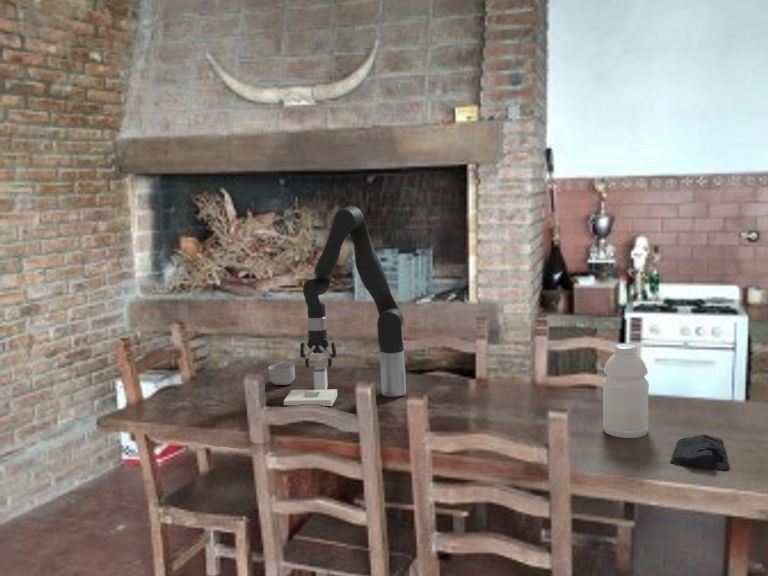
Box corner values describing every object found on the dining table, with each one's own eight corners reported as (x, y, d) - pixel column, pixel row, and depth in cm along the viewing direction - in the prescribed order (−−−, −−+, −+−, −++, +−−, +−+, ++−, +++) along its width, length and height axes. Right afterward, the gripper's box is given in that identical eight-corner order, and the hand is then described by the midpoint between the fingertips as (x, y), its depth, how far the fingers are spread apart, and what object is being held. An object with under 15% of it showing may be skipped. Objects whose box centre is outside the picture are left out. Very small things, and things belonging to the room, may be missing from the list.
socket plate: (337, 395, 293) (337, 389, 293) (331, 406, 280) (331, 400, 279) (292, 396, 295) (291, 389, 295) (284, 407, 281) (283, 400, 281)
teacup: (293, 387, 308) (292, 368, 306) (267, 388, 308) (266, 369, 307) (298, 378, 321) (297, 359, 320) (272, 379, 322) (271, 360, 321)
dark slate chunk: (730, 447, 225) (731, 431, 224) (728, 474, 205) (728, 458, 204) (676, 441, 231) (676, 426, 231) (668, 467, 212) (669, 451, 211)
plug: (327, 387, 306) (326, 365, 304) (325, 391, 300) (324, 369, 299) (317, 387, 306) (315, 365, 305) (314, 391, 301) (313, 369, 299)
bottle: (594, 432, 240) (594, 347, 236) (615, 421, 250) (616, 338, 246) (635, 442, 230) (636, 353, 226) (656, 430, 240) (657, 344, 236)
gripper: (336, 325, 302) (337, 365, 305) (301, 326, 303) (303, 365, 306) (333, 329, 295) (335, 369, 297) (297, 330, 296) (299, 370, 298)
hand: (318, 367), depth 301 cm, fingers open, 8 cm apart
